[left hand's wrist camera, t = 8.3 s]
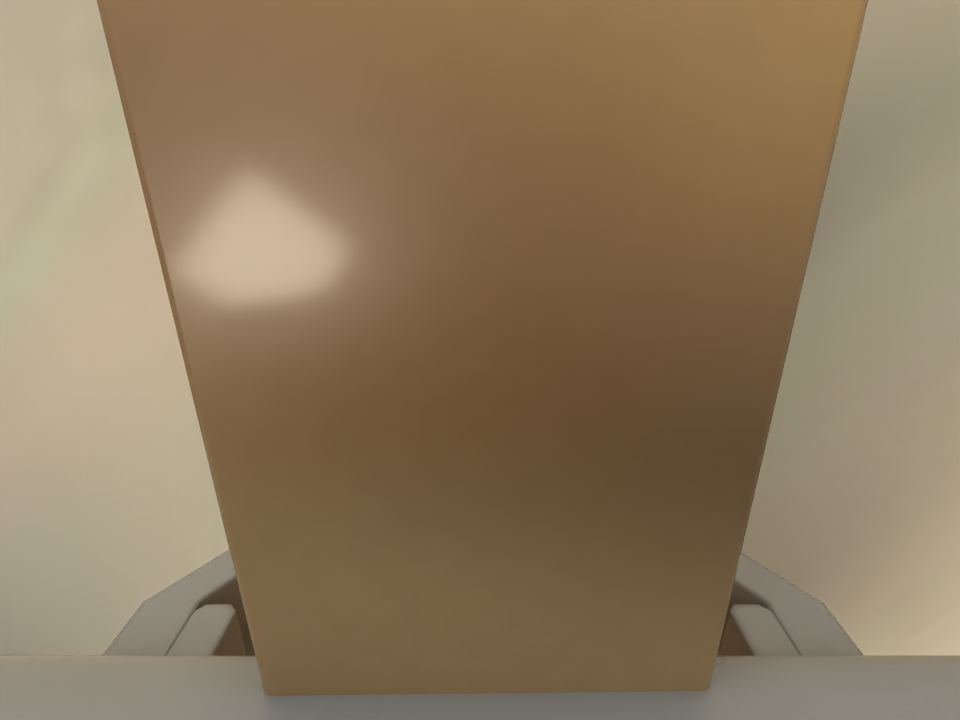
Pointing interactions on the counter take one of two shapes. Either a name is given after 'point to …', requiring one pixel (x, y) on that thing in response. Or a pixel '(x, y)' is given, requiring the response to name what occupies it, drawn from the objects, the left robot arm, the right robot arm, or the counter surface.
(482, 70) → the post
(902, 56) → the counter surface
